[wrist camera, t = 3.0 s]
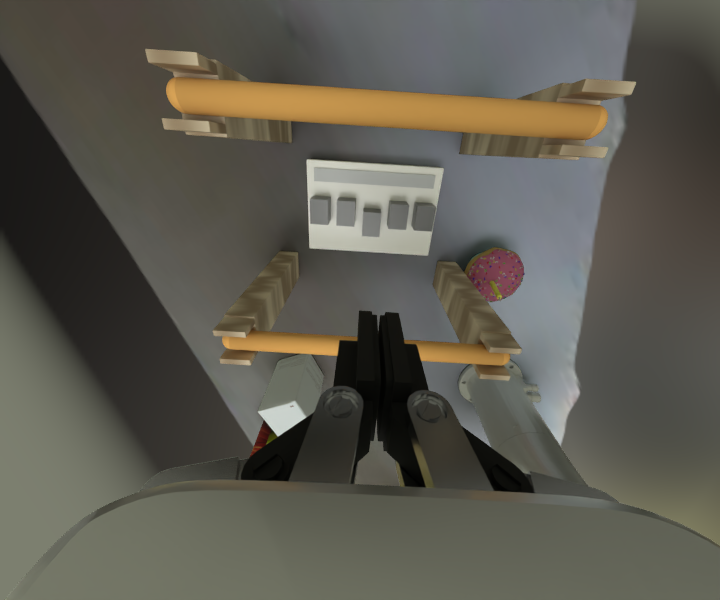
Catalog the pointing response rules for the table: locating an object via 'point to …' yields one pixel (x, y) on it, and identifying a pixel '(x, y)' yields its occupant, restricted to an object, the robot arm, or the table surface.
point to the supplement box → (291, 392)
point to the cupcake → (495, 273)
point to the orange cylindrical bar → (331, 342)
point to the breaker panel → (372, 206)
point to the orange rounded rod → (386, 108)
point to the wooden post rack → (450, 282)
